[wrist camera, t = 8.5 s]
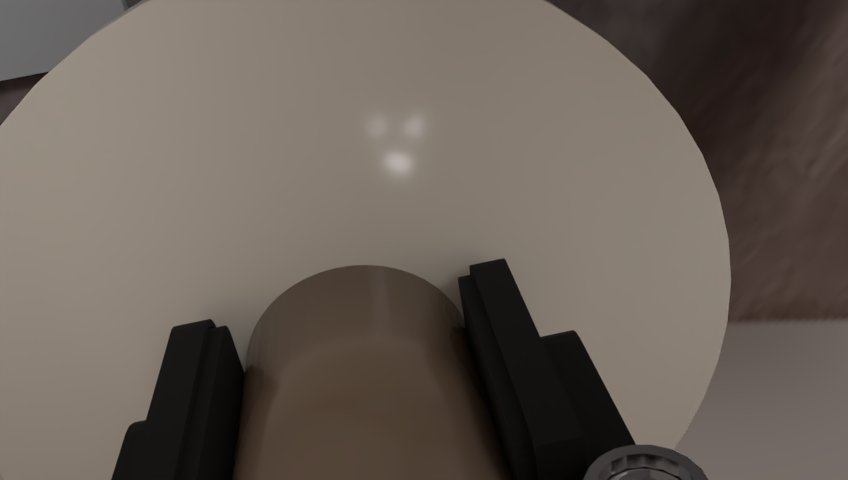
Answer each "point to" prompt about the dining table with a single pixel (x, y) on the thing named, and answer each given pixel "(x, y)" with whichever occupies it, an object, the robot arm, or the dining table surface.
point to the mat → (47, 31)
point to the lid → (345, 230)
